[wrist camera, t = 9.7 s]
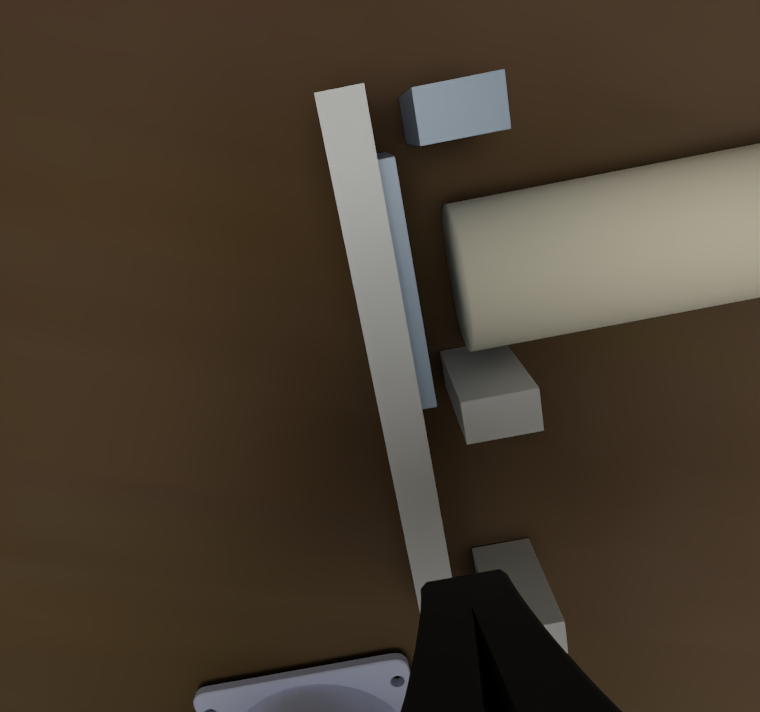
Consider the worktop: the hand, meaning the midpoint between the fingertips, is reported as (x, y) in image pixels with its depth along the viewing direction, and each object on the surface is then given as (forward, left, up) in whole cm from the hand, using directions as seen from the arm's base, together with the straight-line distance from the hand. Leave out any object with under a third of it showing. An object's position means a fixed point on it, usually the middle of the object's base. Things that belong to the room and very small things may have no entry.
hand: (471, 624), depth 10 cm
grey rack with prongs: (+1, -2, -10) cm, 10 cm away
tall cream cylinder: (+4, -8, -10) cm, 14 cm away
